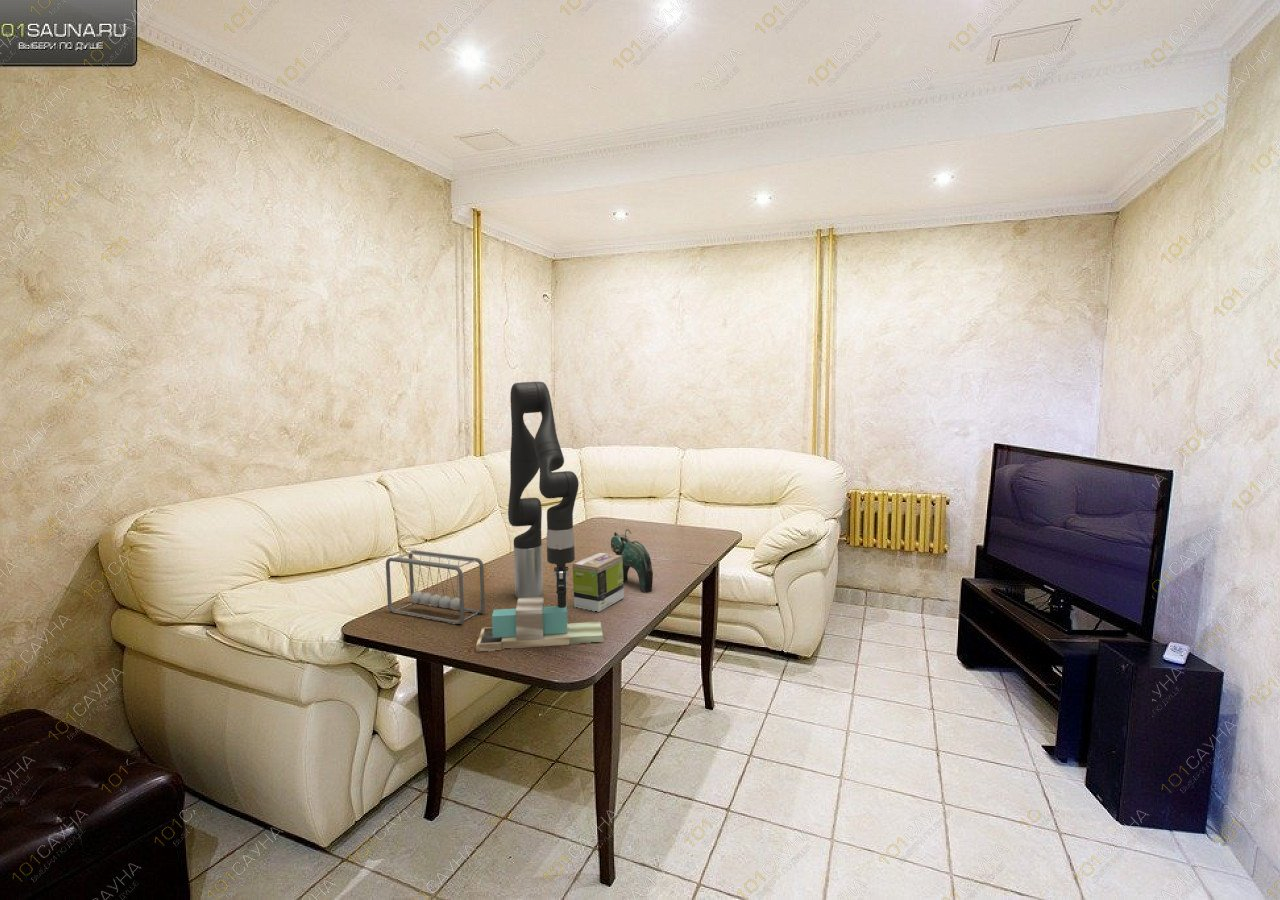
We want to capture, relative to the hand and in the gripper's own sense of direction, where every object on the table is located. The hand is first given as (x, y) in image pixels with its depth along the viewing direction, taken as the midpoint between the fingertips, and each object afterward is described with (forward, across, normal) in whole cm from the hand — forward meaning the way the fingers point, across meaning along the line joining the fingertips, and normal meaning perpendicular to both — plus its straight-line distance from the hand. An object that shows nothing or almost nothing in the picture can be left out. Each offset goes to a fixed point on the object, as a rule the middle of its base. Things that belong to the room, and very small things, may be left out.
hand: (562, 602), depth 161 cm
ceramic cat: (+10, -42, +25) cm, 50 cm away
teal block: (+8, 0, -9) cm, 12 cm away
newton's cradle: (+10, -26, -39) cm, 48 cm away
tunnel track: (+10, 0, -6) cm, 12 cm away
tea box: (+10, -26, +12) cm, 31 cm away
